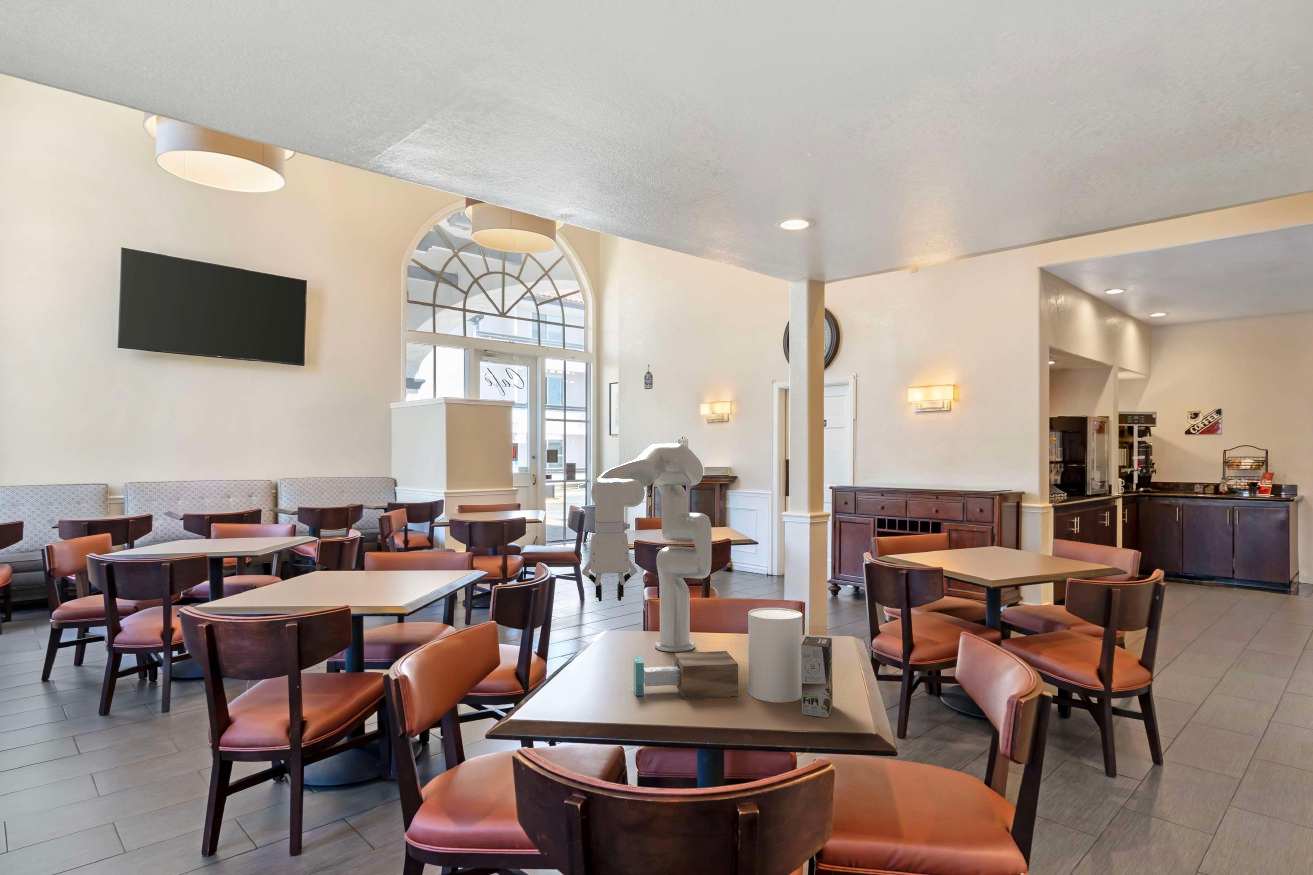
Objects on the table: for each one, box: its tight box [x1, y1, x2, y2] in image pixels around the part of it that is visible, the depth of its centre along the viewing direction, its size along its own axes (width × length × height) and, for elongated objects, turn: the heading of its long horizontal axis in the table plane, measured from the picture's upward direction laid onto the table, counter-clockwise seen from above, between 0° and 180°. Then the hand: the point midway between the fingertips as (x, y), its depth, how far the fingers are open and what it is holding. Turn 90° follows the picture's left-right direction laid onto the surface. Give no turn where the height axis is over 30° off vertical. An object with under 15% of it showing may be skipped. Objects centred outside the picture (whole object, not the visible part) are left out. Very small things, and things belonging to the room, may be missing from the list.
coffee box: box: [801, 635, 834, 719], centre depth 162 cm, size 9×6×16 cm
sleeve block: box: [674, 650, 739, 700], centre depth 176 cm, size 12×14×8 cm
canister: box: [747, 607, 804, 703], centre depth 174 cm, size 14×14×20 cm
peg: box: [633, 656, 680, 697], centre depth 175 cm, size 5×14×8 cm, turn 98°
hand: (609, 599), depth 176 cm, fingers open, 4 cm apart
